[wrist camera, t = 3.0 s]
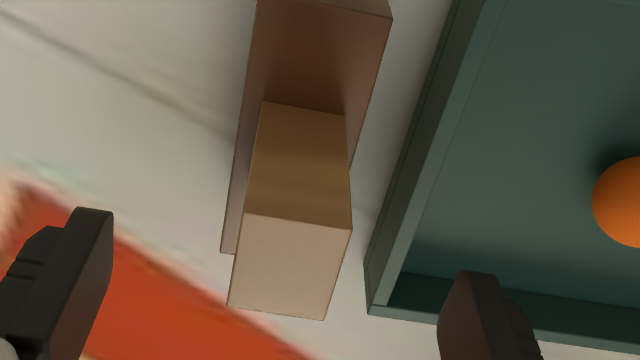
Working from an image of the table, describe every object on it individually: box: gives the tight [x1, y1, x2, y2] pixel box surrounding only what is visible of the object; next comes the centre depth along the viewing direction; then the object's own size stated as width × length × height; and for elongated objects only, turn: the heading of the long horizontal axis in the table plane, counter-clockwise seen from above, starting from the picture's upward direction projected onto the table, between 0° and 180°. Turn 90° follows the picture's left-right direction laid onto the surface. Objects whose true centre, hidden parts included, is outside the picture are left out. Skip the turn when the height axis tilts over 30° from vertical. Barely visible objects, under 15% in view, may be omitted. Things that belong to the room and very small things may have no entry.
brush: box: [220, 0, 393, 321], centre depth 17 cm, size 9×4×8 cm, turn 168°
